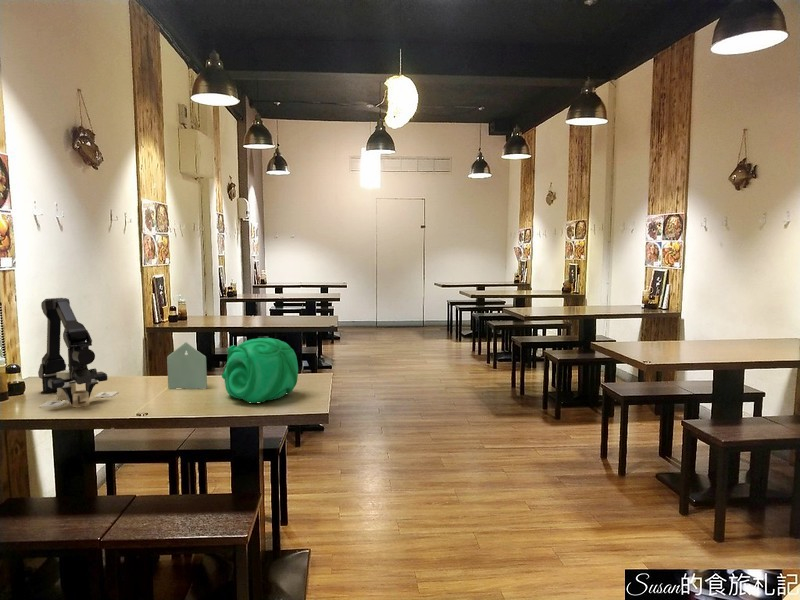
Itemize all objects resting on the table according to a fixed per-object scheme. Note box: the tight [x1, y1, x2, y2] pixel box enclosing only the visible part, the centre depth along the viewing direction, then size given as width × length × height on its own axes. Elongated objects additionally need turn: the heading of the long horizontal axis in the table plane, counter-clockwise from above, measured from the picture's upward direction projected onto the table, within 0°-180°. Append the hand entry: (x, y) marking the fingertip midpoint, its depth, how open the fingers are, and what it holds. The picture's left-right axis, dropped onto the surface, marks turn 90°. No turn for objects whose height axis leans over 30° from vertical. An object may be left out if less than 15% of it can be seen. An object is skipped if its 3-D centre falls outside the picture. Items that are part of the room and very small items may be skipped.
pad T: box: [38, 400, 69, 408], centre depth 213 cm, size 7×7×1 cm
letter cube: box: [69, 389, 90, 408], centre depth 212 cm, size 5×5×5 cm
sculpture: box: [221, 337, 299, 403], centre depth 222 cm, size 27×28×30 cm
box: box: [56, 369, 77, 401], centre depth 221 cm, size 5×4×11 cm
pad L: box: [93, 391, 120, 398], centre depth 227 cm, size 7×7×1 cm
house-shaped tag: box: [166, 342, 208, 390], centre depth 240 cm, size 16×8×20 cm, turn 88°
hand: (79, 402), depth 212 cm, fingers closed on letter cube, 5 cm apart
